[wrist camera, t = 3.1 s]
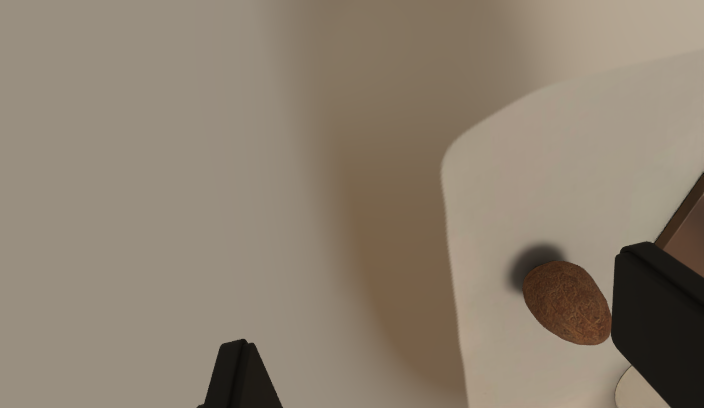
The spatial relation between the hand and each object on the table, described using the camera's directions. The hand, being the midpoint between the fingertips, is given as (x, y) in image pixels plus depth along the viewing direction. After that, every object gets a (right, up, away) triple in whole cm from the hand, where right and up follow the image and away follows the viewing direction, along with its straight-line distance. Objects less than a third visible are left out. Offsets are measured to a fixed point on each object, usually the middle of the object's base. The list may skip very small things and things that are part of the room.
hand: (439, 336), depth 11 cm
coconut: (+14, -2, +25) cm, 28 cm away
